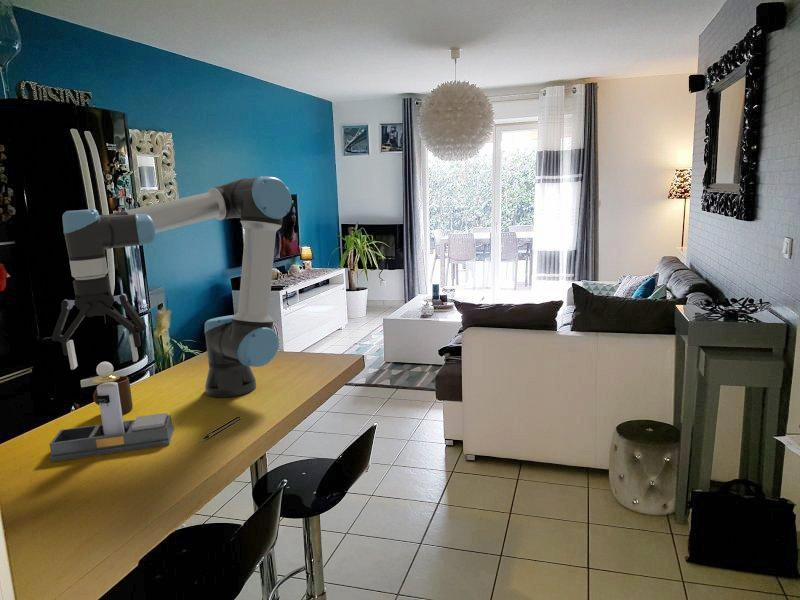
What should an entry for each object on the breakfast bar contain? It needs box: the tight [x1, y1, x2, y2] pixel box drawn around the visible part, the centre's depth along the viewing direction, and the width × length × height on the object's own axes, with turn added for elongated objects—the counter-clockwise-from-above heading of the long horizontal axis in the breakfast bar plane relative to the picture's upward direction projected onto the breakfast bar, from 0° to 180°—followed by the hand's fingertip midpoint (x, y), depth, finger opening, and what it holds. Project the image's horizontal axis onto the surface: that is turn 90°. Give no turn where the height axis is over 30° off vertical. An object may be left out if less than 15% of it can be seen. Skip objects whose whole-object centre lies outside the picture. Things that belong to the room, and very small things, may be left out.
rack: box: [49, 412, 175, 463], centre depth 143 cm, size 26×10×5 cm, turn 105°
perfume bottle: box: [92, 361, 125, 436], centre depth 141 cm, size 6×6×20 cm
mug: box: [92, 375, 134, 415], centre depth 163 cm, size 12×8×9 cm, turn 167°
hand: (105, 364), depth 139 cm, fingers open, 13 cm apart
